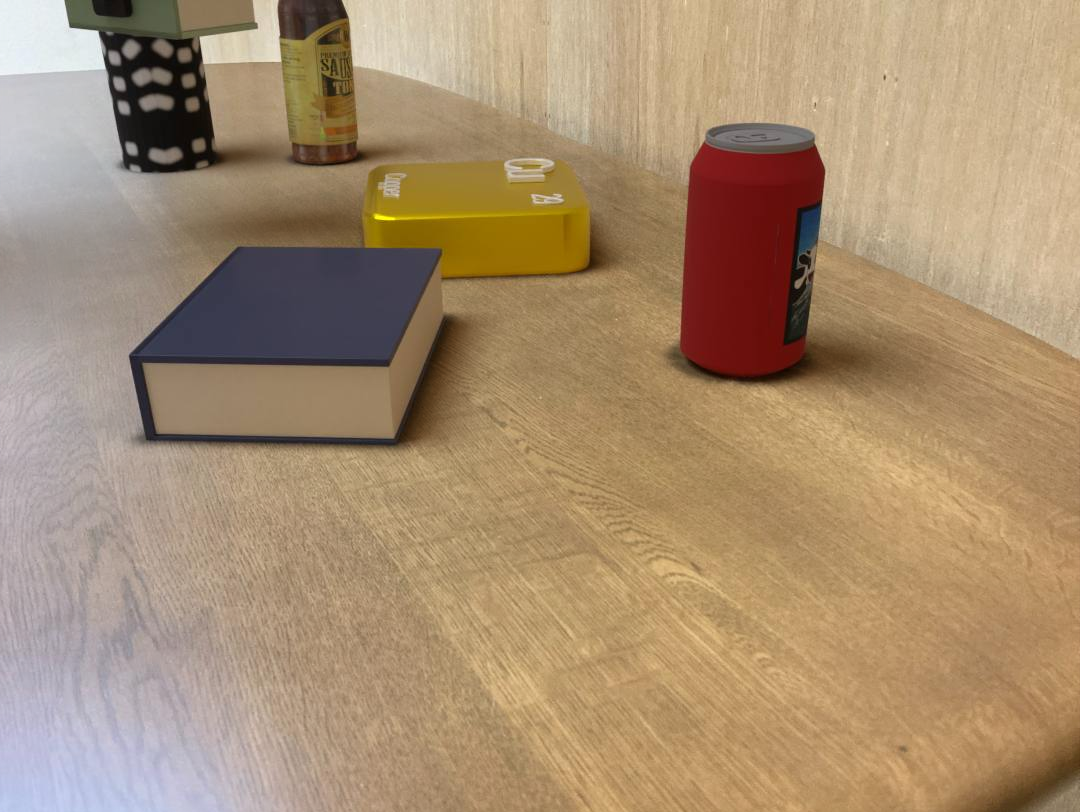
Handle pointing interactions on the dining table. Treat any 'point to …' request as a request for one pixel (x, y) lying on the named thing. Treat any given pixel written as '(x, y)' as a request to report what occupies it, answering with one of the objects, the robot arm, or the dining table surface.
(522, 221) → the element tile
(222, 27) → the hardcover book
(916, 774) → the dining table surface
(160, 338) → the encyclopedia
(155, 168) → the spotted tube
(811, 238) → the beverage can
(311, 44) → the sauce bottle
